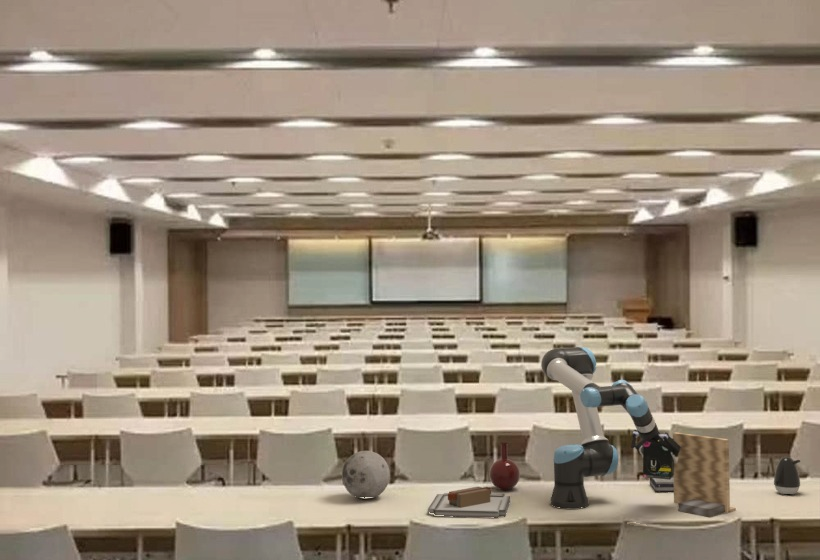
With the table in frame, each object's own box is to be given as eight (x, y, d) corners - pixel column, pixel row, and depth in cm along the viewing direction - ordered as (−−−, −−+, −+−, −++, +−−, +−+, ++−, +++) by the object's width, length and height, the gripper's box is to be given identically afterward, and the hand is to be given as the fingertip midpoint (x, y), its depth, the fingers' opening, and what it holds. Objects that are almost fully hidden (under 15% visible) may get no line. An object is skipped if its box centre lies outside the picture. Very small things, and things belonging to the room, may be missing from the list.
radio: (655, 481, 421) (648, 471, 441) (655, 493, 421) (648, 483, 441) (714, 481, 419) (705, 471, 439) (715, 493, 419) (705, 483, 439)
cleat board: (658, 506, 396) (657, 436, 396) (682, 500, 406) (681, 431, 406) (712, 517, 378) (710, 443, 378) (735, 510, 388) (734, 438, 388)
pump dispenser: (798, 497, 408) (797, 460, 407) (771, 494, 413) (771, 457, 413) (803, 492, 416) (802, 455, 416) (776, 489, 422) (776, 453, 422)
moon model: (391, 493, 431) (390, 446, 430) (388, 503, 411) (387, 455, 410) (344, 493, 431) (343, 447, 431) (340, 504, 411) (339, 455, 411)
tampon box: (642, 477, 394) (642, 440, 393) (646, 472, 402) (645, 436, 402) (671, 479, 390) (671, 442, 389) (674, 474, 398) (674, 438, 398)
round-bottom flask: (483, 490, 432) (482, 443, 432) (501, 484, 442) (500, 439, 442) (508, 494, 424) (507, 447, 424) (526, 488, 434) (525, 442, 434)
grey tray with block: (504, 520, 383) (504, 500, 383) (427, 518, 388) (426, 498, 388) (510, 502, 413) (510, 483, 412) (438, 500, 418) (437, 482, 418)
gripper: (613, 431, 390) (628, 463, 403) (674, 436, 376) (688, 469, 389) (618, 415, 394) (633, 447, 407) (679, 420, 380) (693, 453, 393)
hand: (660, 458), depth 398 cm, fingers closed on tampon box, 12 cm apart
